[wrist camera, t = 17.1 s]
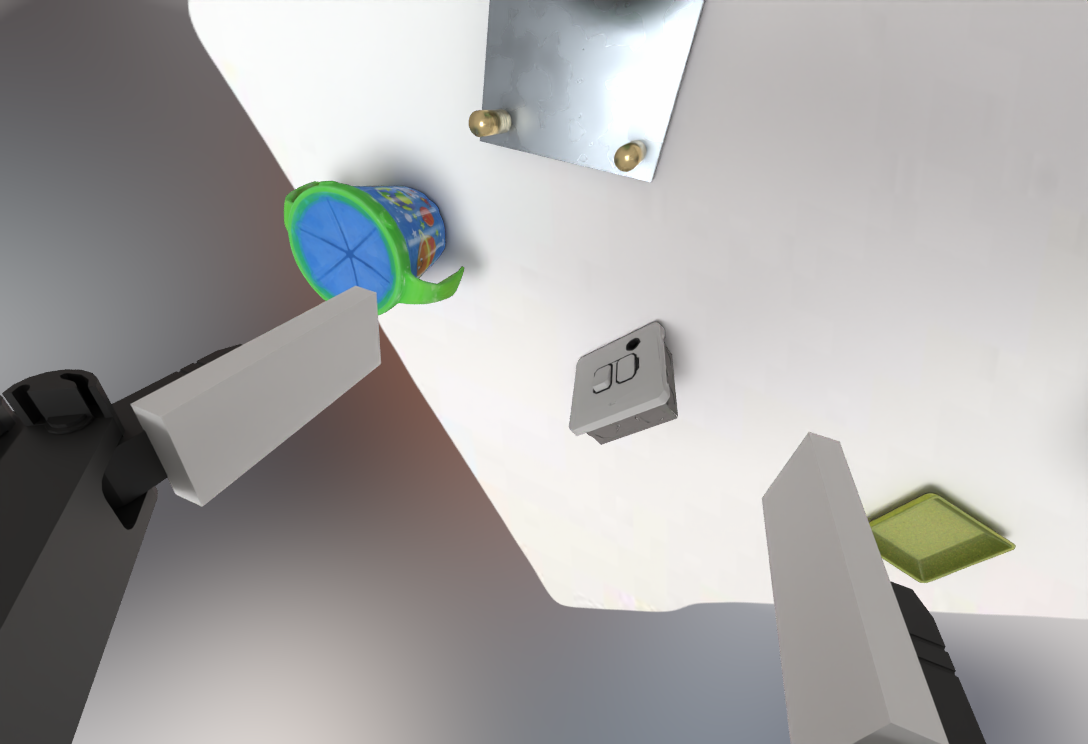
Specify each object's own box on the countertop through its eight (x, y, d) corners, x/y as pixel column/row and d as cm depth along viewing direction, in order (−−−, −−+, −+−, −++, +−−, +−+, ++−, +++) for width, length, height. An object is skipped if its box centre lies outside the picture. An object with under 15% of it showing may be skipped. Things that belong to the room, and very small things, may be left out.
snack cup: (335, 223, 45) (251, 251, 37) (360, 124, 39) (266, 131, 31) (459, 312, 46) (404, 359, 38) (503, 229, 40) (448, 264, 31)
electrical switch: (660, 316, 39) (653, 378, 32) (688, 358, 41) (687, 425, 34) (577, 357, 44) (555, 418, 37) (605, 393, 46) (589, 458, 39)
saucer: (1007, 529, 39) (1020, 548, 38) (915, 567, 45) (923, 585, 43) (928, 477, 39) (937, 494, 38) (845, 521, 44) (850, 538, 43)
